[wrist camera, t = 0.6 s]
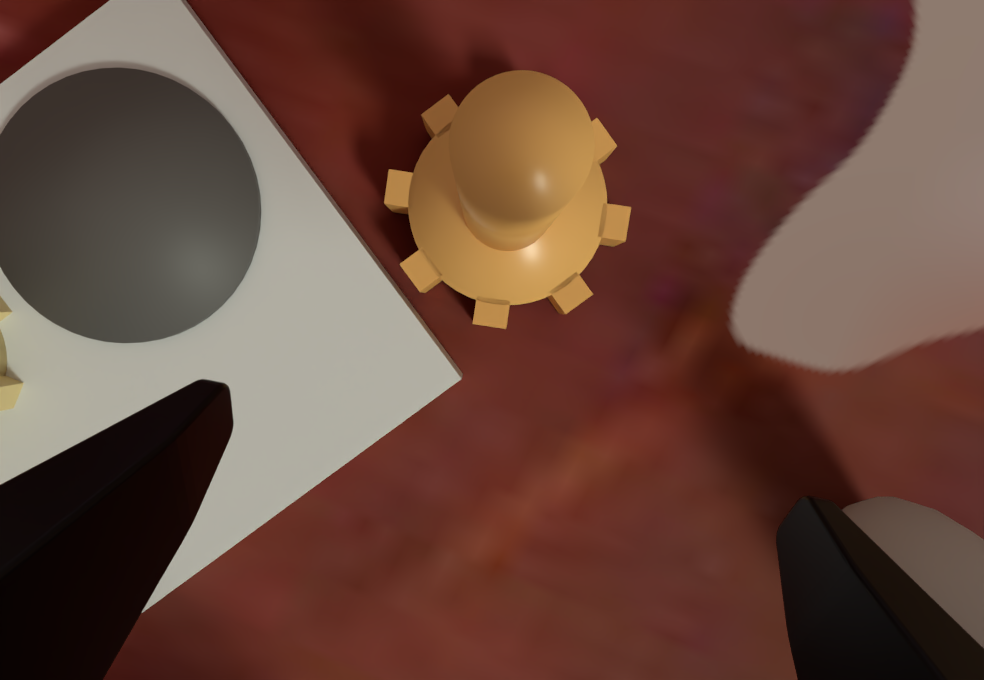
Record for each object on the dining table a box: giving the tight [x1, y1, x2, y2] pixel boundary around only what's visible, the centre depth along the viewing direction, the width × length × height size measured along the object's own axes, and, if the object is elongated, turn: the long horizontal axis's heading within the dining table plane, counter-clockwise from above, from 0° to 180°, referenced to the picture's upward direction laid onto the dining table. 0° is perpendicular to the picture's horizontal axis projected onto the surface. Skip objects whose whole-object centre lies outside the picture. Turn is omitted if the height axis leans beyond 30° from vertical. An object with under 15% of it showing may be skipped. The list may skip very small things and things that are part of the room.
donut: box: [842, 497, 984, 648], centre depth 19 cm, size 10×3×10 cm, turn 29°
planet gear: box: [384, 70, 631, 329], centre depth 18 cm, size 9×9×10 cm
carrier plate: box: [0, 0, 463, 613], centre depth 21 cm, size 18×18×4 cm
